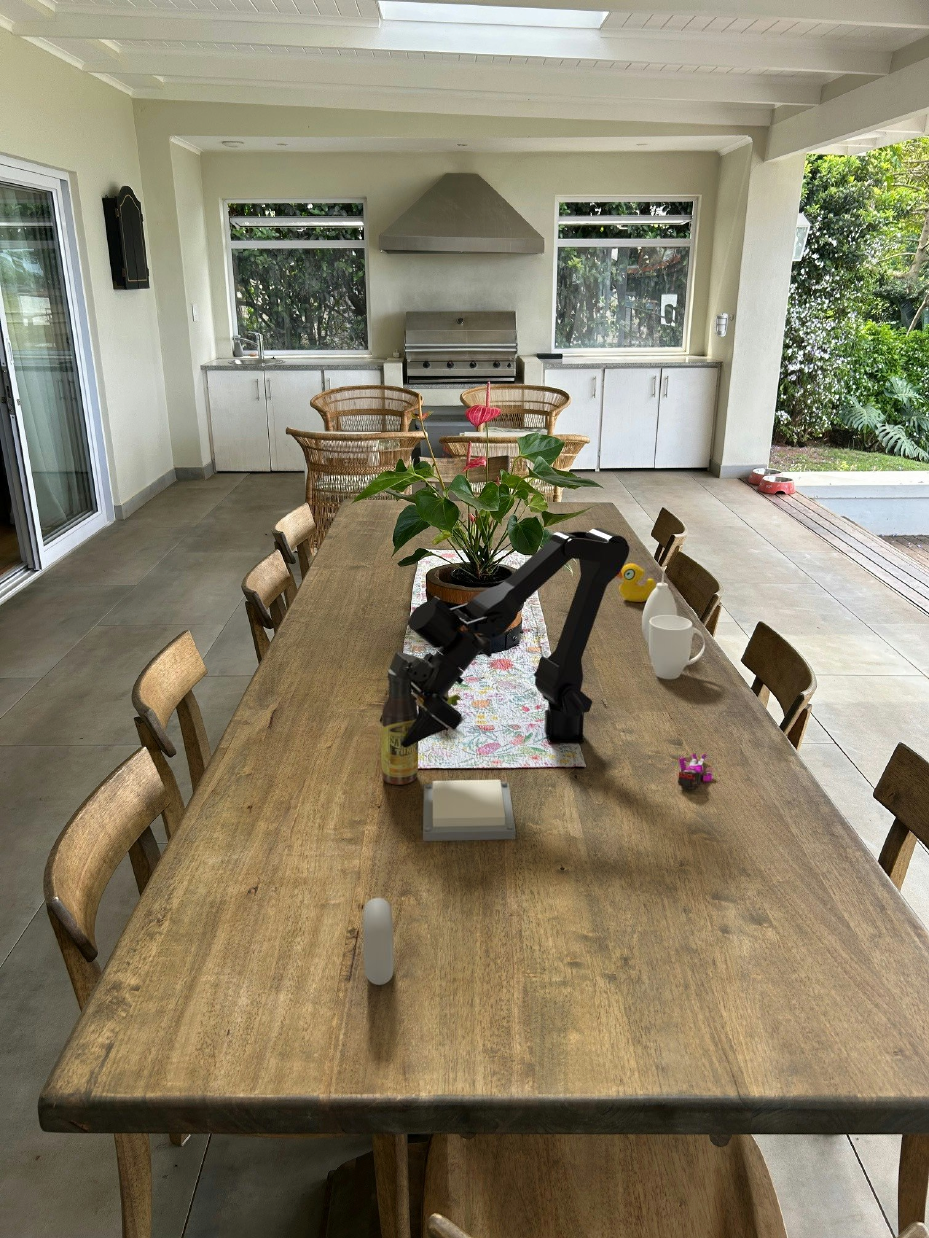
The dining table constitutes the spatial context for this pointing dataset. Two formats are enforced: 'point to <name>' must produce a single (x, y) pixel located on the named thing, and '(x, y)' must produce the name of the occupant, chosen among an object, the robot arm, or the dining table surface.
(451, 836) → the tower base
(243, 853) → the dining table surface
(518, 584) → the robot arm
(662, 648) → the mug
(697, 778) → the character figurine
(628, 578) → the duckling
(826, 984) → the dining table surface
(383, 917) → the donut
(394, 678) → the sauce bottle
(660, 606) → the sauce bottle
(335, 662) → the dining table surface
